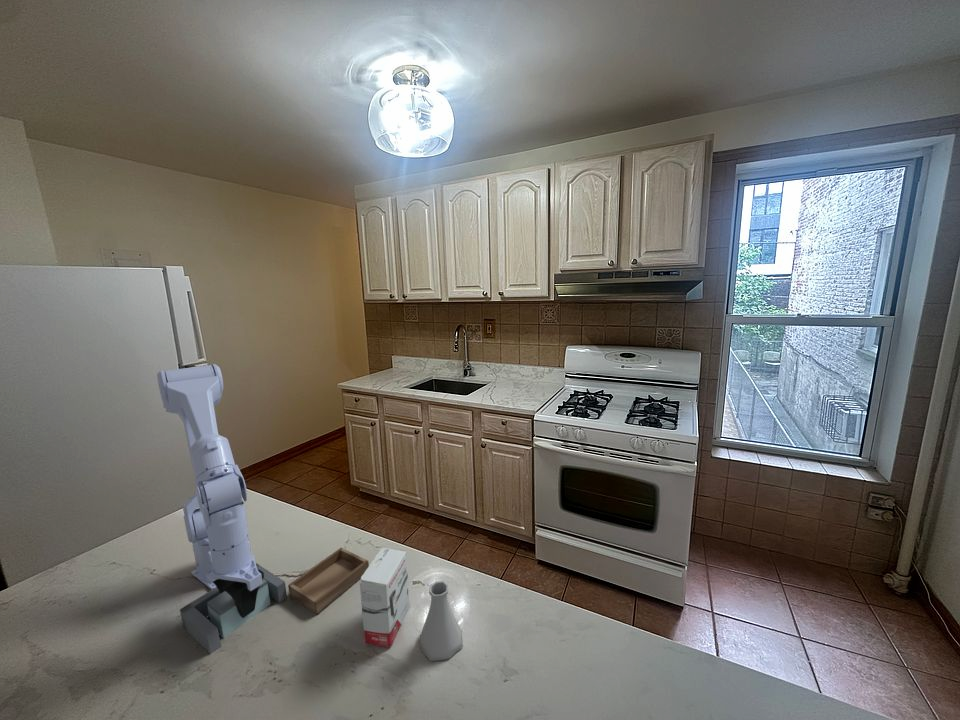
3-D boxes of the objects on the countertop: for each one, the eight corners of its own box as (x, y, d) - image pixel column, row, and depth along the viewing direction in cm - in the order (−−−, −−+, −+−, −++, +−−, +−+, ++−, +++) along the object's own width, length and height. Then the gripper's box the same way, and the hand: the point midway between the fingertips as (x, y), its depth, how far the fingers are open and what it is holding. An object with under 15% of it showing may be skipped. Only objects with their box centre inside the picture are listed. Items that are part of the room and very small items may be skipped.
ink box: (391, 649, 60) (385, 585, 58) (363, 644, 61) (357, 581, 58) (411, 605, 68) (407, 548, 66) (387, 602, 69) (382, 545, 67)
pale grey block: (211, 627, 65) (206, 602, 64) (257, 595, 71) (254, 572, 71) (223, 638, 62) (219, 612, 62) (270, 604, 69) (267, 580, 68)
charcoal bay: (183, 626, 65) (179, 609, 64) (258, 577, 76) (256, 562, 75) (210, 653, 60) (207, 635, 59) (287, 597, 71) (284, 581, 70)
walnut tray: (289, 596, 71) (288, 585, 70) (342, 557, 81) (341, 547, 81) (317, 615, 66) (316, 603, 66) (369, 571, 77) (368, 560, 76)
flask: (414, 631, 63) (411, 579, 61) (454, 616, 65) (452, 566, 64) (426, 670, 56) (422, 613, 54) (469, 651, 59) (467, 596, 57)
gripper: (184, 540, 65) (196, 607, 67) (225, 569, 57) (237, 643, 60) (227, 519, 71) (237, 581, 73) (270, 543, 63) (279, 611, 65)
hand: (240, 607), depth 67 cm, fingers closed on pale grey block, 4 cm apart
